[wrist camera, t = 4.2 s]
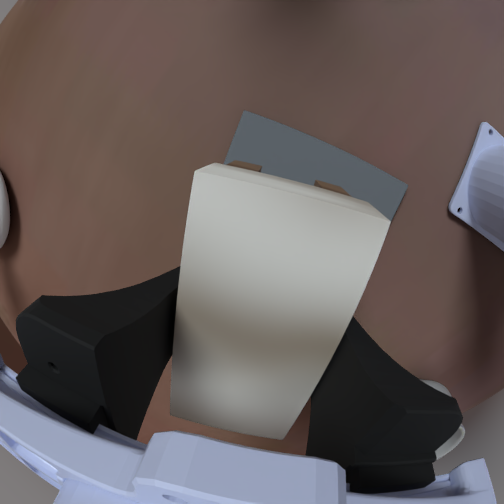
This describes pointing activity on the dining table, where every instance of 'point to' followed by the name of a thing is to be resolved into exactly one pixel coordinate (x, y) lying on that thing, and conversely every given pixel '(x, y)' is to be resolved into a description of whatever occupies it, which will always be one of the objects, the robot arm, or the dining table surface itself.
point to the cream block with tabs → (265, 294)
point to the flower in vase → (4, 212)
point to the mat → (312, 162)
